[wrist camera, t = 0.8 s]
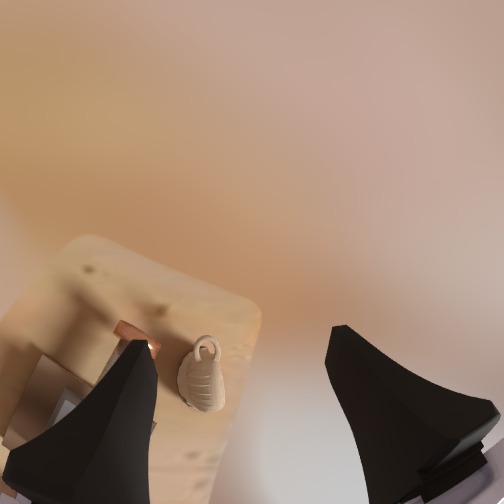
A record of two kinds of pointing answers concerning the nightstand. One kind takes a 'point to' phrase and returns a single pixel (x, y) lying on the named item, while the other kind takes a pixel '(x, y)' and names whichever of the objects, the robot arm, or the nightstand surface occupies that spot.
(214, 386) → the cream ribbed curved piece
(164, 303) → the nightstand surface
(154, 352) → the shaft
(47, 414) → the housing
